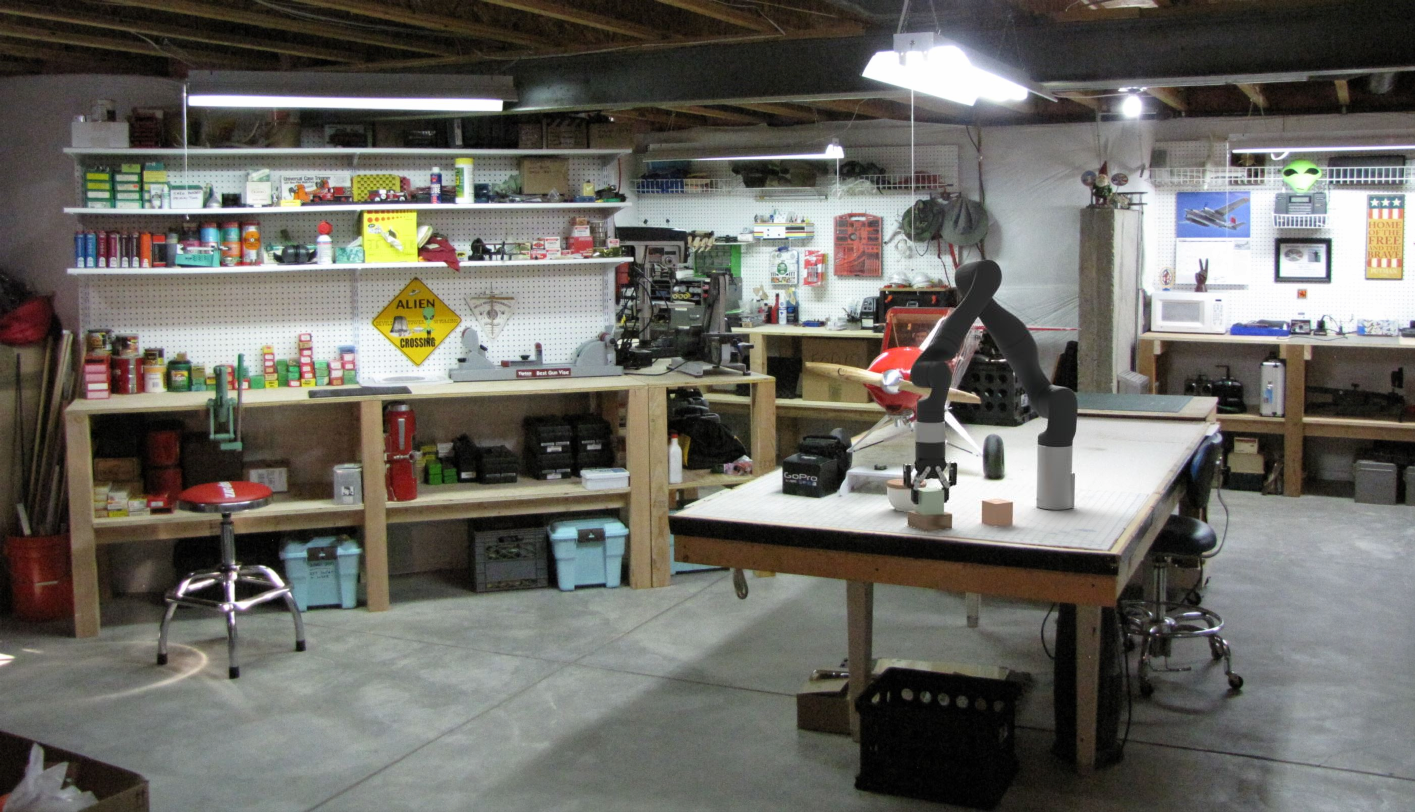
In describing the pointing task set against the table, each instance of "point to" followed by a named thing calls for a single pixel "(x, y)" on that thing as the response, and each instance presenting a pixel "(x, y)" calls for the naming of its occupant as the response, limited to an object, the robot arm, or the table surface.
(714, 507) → the table surface
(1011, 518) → the terracotta block
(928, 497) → the sage block
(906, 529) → the table surface
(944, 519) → the walnut base
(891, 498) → the lidded jar
